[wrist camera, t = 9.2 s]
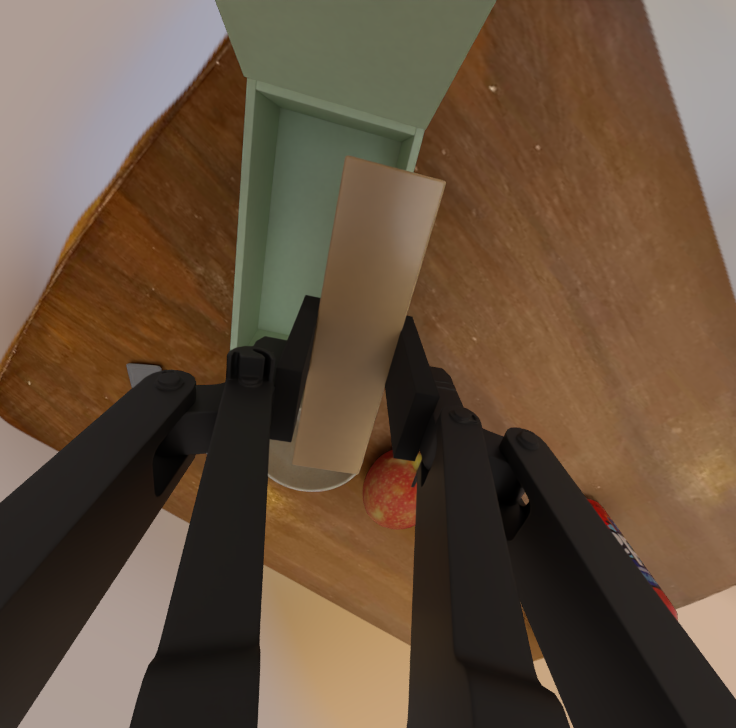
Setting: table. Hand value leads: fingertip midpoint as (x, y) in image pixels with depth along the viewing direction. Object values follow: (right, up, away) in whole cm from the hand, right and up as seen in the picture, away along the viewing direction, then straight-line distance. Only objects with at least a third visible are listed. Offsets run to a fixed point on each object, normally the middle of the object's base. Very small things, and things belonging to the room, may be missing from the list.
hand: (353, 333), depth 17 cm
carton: (-3, +9, +14) cm, 17 cm away
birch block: (0, +1, +1) cm, 2 cm away
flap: (0, +12, -2) cm, 12 cm away
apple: (+4, -13, +26) cm, 30 cm away
